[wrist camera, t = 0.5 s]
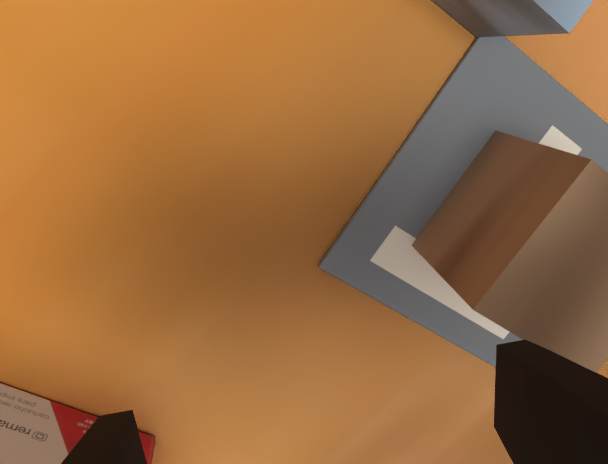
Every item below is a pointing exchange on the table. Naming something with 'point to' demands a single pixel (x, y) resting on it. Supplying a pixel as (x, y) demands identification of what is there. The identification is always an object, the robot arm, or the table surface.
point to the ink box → (43, 429)
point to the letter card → (445, 175)
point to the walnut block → (529, 245)
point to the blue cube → (515, 16)
